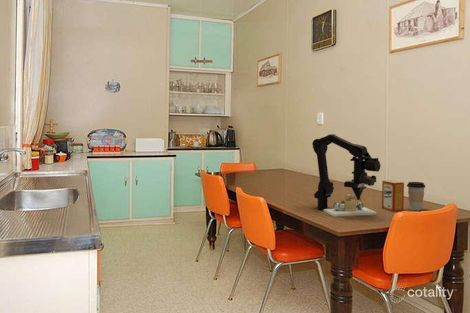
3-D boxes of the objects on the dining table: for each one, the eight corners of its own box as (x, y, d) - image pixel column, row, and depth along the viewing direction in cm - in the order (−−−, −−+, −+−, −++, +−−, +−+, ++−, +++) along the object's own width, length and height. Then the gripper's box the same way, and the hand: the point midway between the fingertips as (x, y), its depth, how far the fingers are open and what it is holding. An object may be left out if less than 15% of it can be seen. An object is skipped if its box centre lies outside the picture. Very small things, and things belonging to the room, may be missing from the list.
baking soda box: (381, 208, 229) (382, 180, 228) (391, 207, 232) (392, 179, 230) (393, 211, 221) (394, 182, 219) (403, 210, 223) (404, 181, 221)
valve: (336, 211, 216) (336, 200, 215) (332, 209, 221) (332, 198, 221) (364, 210, 218) (364, 199, 218) (359, 208, 224) (360, 197, 223)
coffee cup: (428, 211, 221) (429, 183, 220) (412, 211, 220) (413, 184, 218) (418, 207, 230) (418, 181, 229) (402, 208, 229) (403, 181, 228)
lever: (343, 198, 220) (343, 194, 219) (348, 197, 222) (348, 194, 221) (361, 201, 210) (361, 197, 210) (365, 200, 212) (365, 197, 212)
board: (323, 211, 223) (323, 209, 223) (364, 209, 227) (364, 207, 227) (333, 216, 210) (333, 214, 210) (376, 214, 214) (376, 212, 214)
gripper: (363, 172, 199) (362, 203, 200) (383, 170, 211) (381, 200, 212) (343, 170, 207) (342, 200, 208) (363, 168, 220) (362, 197, 220)
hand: (358, 199), depth 212 cm, fingers closed
